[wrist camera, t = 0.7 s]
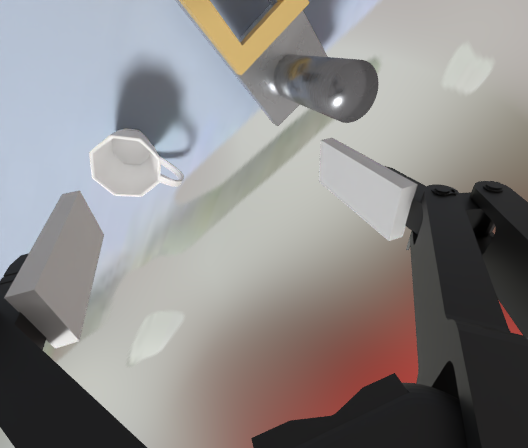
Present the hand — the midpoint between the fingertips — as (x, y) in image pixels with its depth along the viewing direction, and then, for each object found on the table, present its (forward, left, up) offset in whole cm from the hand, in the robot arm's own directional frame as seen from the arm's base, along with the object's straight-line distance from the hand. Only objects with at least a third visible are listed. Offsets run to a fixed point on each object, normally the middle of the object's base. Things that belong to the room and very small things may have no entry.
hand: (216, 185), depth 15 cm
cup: (0, -8, -24) cm, 25 cm away
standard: (0, +11, -24) cm, 26 cm away
